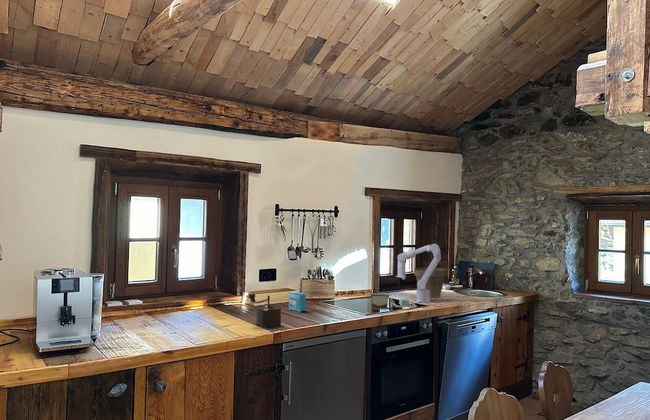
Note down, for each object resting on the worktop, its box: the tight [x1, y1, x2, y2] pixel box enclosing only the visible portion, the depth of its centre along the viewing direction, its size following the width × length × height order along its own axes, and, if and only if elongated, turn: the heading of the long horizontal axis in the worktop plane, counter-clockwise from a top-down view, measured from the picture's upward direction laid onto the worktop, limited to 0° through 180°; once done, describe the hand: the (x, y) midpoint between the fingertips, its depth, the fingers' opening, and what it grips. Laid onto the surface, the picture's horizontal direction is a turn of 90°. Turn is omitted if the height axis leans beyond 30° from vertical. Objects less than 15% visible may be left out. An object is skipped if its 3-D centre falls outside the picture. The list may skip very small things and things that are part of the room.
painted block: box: [398, 298, 410, 306], centre depth 332 cm, size 5×7×4 cm
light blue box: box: [288, 291, 307, 312], centre depth 306 cm, size 12×4×12 cm, turn 43°
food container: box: [370, 292, 390, 310], centre depth 319 cm, size 12×6×10 cm, turn 84°
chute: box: [390, 298, 418, 308], centre depth 336 cm, size 14×26×2 cm, turn 4°
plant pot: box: [413, 267, 447, 299], centre depth 374 cm, size 25×25×22 cm
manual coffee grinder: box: [248, 292, 282, 328], centre depth 261 cm, size 16×11×18 cm
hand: (401, 288), depth 350 cm, fingers closed
